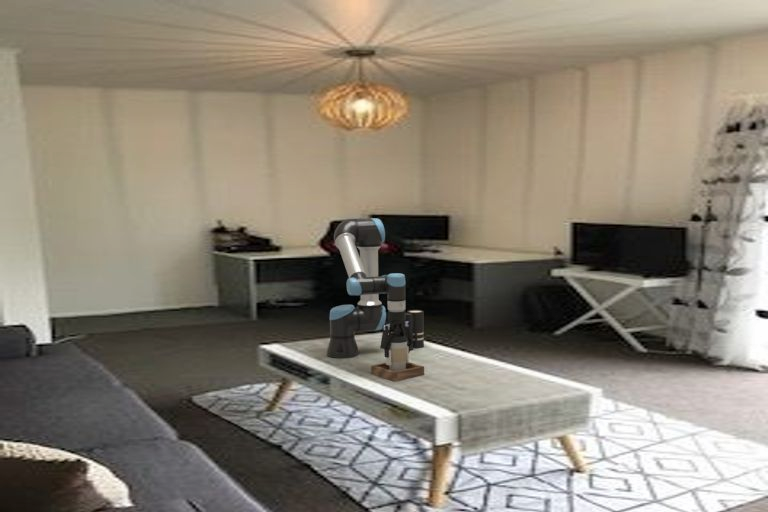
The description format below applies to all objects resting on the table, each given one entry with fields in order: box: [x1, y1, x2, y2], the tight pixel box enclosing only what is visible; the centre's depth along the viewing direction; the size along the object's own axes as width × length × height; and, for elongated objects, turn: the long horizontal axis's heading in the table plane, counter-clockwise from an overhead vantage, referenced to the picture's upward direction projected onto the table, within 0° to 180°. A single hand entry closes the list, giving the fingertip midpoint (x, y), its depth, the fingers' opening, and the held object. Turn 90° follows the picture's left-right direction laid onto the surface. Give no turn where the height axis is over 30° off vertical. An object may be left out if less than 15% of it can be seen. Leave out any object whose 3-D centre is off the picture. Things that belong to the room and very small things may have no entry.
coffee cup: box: [389, 334, 408, 372], centre depth 294 cm, size 9×9×15 cm
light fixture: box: [396, 309, 425, 352], centre depth 344 cm, size 10×14×18 cm
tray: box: [370, 362, 425, 382], centre depth 295 cm, size 16×16×4 cm
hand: (397, 362), depth 294 cm, fingers open, 9 cm apart
